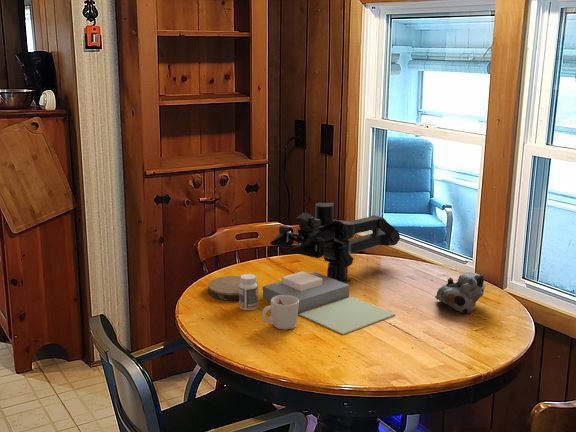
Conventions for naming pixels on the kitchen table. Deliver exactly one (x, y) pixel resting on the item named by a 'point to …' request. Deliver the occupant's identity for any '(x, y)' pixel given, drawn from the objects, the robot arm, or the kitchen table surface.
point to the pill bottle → (248, 292)
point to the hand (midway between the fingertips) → (280, 246)
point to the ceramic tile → (302, 281)
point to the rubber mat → (347, 315)
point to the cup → (282, 311)
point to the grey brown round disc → (225, 288)
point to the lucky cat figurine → (462, 292)
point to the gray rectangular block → (310, 293)
